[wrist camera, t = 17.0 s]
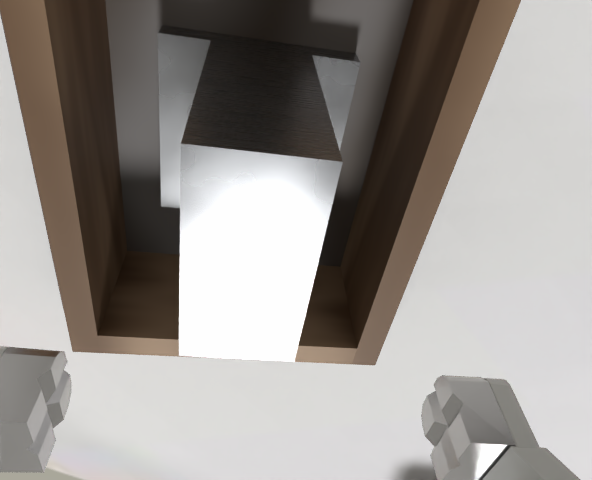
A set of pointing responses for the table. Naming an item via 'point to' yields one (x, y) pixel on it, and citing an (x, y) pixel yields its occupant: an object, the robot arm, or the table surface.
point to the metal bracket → (249, 182)
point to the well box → (146, 152)
